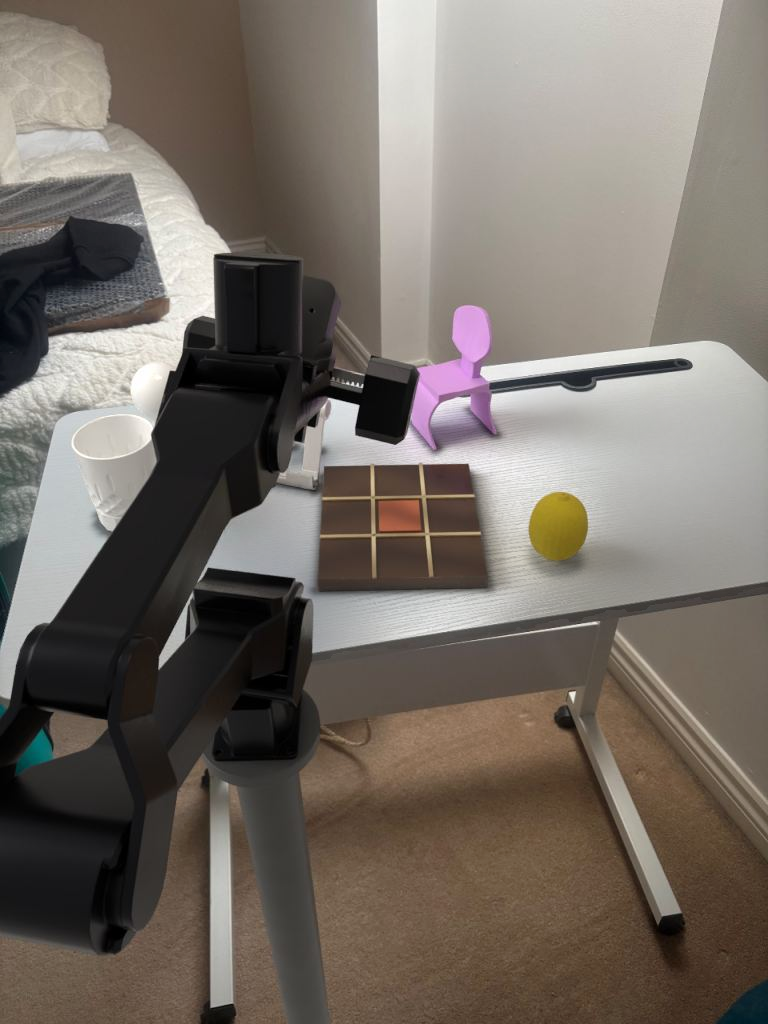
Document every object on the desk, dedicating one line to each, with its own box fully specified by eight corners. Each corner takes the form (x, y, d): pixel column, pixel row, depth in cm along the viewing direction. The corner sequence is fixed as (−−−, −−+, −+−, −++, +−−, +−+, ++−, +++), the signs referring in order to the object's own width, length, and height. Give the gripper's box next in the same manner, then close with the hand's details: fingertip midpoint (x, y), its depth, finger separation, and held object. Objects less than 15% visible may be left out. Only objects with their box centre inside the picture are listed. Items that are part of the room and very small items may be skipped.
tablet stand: (240, 480, 92) (231, 416, 87) (268, 441, 98) (261, 379, 92) (313, 494, 90) (308, 429, 85) (337, 453, 96) (334, 391, 90)
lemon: (578, 541, 84) (590, 478, 79) (583, 579, 80) (596, 515, 74) (523, 537, 84) (532, 474, 79) (525, 575, 80) (534, 511, 75)
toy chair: (404, 419, 101) (405, 305, 92) (468, 404, 104) (476, 291, 94) (434, 456, 95) (438, 338, 86) (501, 438, 98) (513, 322, 88)
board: (486, 587, 79) (488, 574, 78) (318, 591, 79) (317, 578, 77) (467, 474, 93) (468, 461, 92) (324, 476, 92) (323, 464, 91)
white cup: (128, 549, 83) (106, 469, 77) (79, 519, 87) (54, 440, 81) (186, 509, 88) (171, 431, 82) (138, 482, 92) (119, 405, 85)
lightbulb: (134, 460, 95) (114, 376, 88) (159, 430, 100) (141, 348, 93) (186, 467, 94) (169, 383, 87) (208, 436, 99) (194, 354, 92)
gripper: (422, 318, 56) (445, 292, 70) (158, 258, 57) (234, 245, 71) (389, 472, 60) (417, 417, 74) (145, 412, 61) (219, 370, 76)
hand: (322, 360), depth 74 cm, fingers open, 9 cm apart
